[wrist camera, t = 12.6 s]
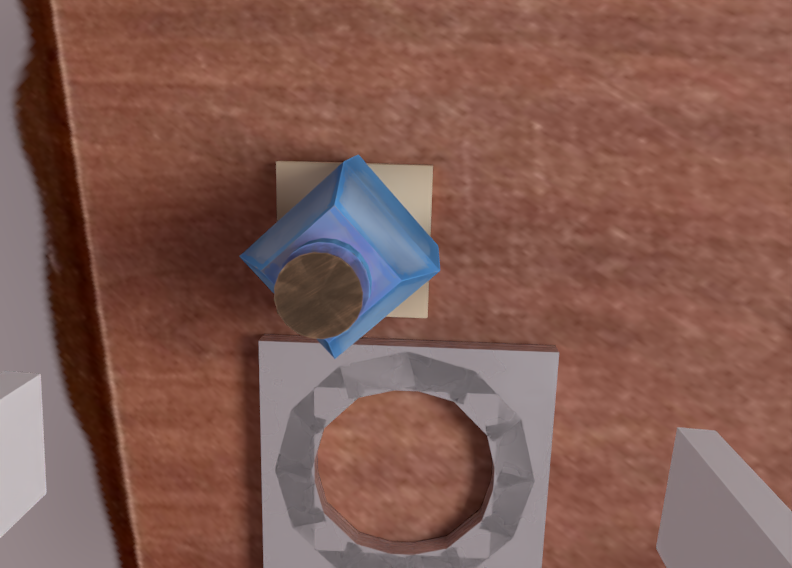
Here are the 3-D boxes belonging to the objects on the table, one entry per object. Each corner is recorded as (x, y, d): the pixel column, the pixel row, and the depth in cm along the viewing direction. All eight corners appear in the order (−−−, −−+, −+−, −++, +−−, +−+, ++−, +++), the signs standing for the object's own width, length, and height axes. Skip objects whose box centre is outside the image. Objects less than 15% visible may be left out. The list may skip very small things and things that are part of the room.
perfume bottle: (350, 320, 37) (313, 411, 25) (270, 233, 36) (195, 287, 24) (438, 245, 36) (442, 305, 24) (358, 154, 35) (323, 170, 23)
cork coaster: (279, 160, 36) (275, 161, 35) (432, 164, 36) (432, 165, 35) (281, 308, 38) (278, 312, 37) (427, 314, 38) (427, 318, 37)
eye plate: (263, 334, 38) (258, 341, 37) (555, 345, 38) (559, 352, 36) (268, 572, 42) (263, 585, 40) (535, 585, 41) (538, 599, 40)
